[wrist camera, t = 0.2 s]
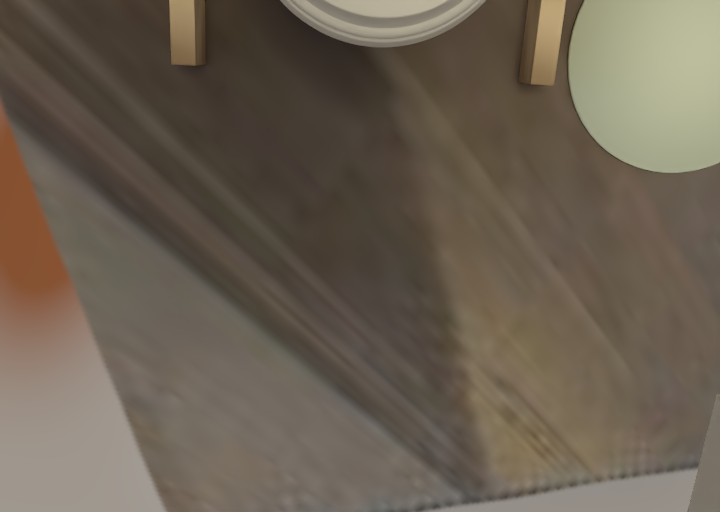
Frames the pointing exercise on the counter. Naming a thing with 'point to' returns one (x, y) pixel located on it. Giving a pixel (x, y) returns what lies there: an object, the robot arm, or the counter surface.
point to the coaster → (649, 80)
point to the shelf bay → (535, 57)
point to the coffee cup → (382, 19)
